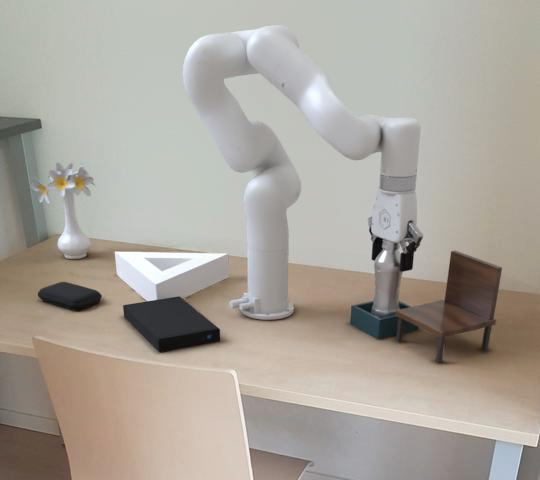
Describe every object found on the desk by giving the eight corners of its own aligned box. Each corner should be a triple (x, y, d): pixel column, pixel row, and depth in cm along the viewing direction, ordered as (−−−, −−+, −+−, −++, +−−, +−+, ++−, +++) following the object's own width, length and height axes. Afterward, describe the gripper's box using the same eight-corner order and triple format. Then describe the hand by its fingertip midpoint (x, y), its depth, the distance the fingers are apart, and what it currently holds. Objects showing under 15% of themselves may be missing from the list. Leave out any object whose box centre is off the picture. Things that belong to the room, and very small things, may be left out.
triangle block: (157, 310, 188) (155, 284, 185) (77, 290, 200) (74, 265, 196) (228, 277, 210) (228, 253, 206) (152, 261, 221) (151, 238, 218)
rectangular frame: (378, 339, 174) (379, 319, 172) (349, 324, 182) (351, 305, 179) (418, 329, 179) (420, 310, 177) (389, 315, 187) (391, 296, 184)
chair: (438, 364, 163) (449, 279, 153) (392, 340, 173) (400, 259, 164) (491, 350, 169) (505, 267, 160) (443, 328, 180) (454, 249, 170)
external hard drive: (180, 308, 189) (180, 296, 188) (220, 341, 172) (220, 328, 170) (124, 317, 184) (122, 305, 182) (159, 352, 166) (158, 339, 165)
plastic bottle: (400, 332, 178) (409, 243, 167) (370, 331, 178) (377, 242, 167) (397, 322, 183) (405, 235, 172) (368, 321, 183) (374, 234, 172)
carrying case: (109, 301, 193) (67, 289, 200) (108, 288, 192) (66, 277, 199) (77, 313, 186) (35, 300, 193) (75, 300, 184) (33, 288, 191)
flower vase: (35, 261, 220) (20, 167, 206) (79, 245, 233) (68, 156, 220) (70, 269, 214) (58, 172, 201) (113, 252, 228) (104, 161, 215)
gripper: (358, 178, 168) (354, 258, 177) (410, 193, 156) (403, 278, 165) (385, 174, 171) (380, 253, 180) (439, 188, 159) (430, 272, 168)
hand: (391, 264), depth 172 cm, fingers open, 9 cm apart
